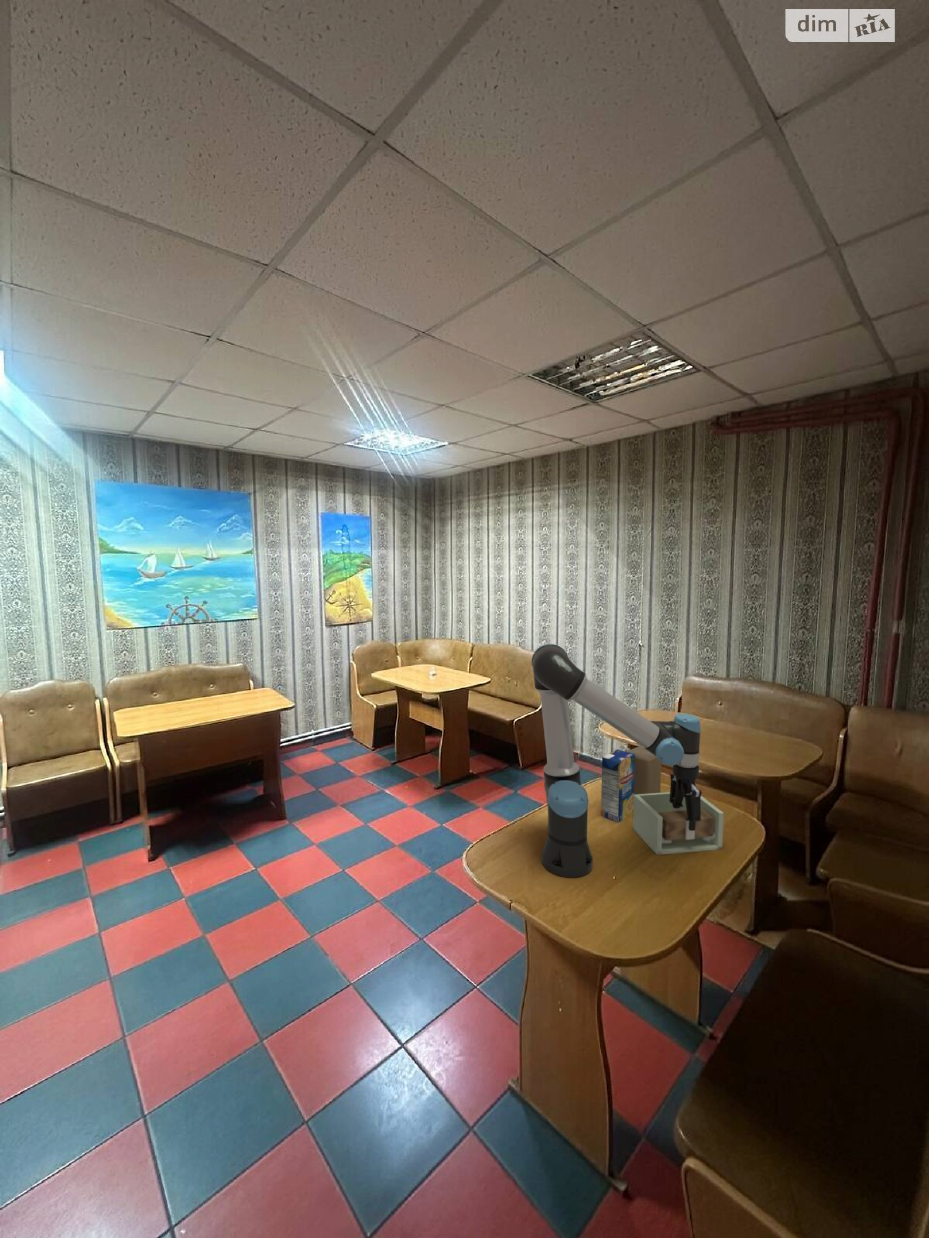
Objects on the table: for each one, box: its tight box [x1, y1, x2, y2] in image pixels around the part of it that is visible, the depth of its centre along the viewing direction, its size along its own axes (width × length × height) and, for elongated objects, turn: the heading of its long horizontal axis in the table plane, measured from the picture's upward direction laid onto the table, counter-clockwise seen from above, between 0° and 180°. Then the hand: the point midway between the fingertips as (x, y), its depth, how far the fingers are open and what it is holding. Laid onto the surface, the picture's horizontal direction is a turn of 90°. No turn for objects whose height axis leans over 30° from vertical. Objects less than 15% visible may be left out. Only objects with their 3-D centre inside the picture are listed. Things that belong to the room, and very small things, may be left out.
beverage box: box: [600, 749, 635, 824], centre depth 178 cm, size 7×11×22 cm, turn 134°
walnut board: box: [658, 809, 714, 840], centre depth 159 cm, size 16×6×6 cm, turn 98°
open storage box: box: [632, 791, 725, 856], centre depth 163 cm, size 22×16×12 cm
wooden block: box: [626, 746, 662, 795], centre depth 187 cm, size 10×10×20 cm
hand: (683, 832), depth 159 cm, fingers open, 6 cm apart
